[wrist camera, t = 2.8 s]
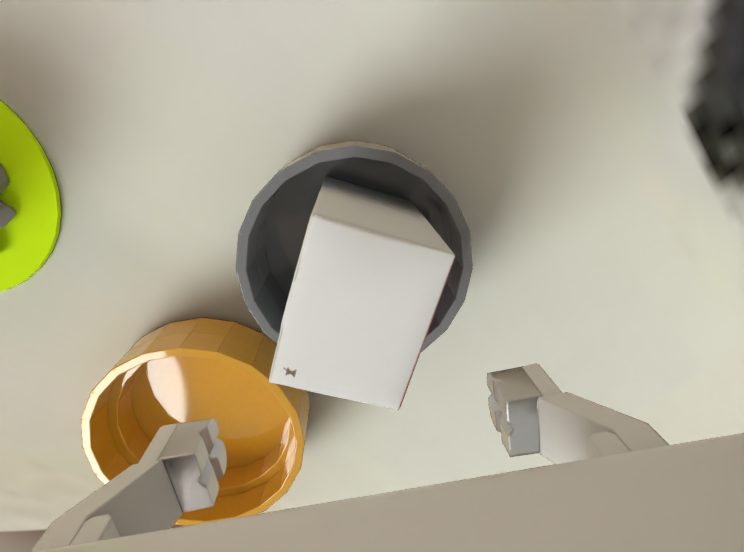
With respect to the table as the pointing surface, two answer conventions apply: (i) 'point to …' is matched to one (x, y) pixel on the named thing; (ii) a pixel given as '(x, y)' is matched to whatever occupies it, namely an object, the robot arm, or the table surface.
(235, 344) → the bowl
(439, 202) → the pot
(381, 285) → the small box
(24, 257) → the toy cauldron
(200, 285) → the table surface
